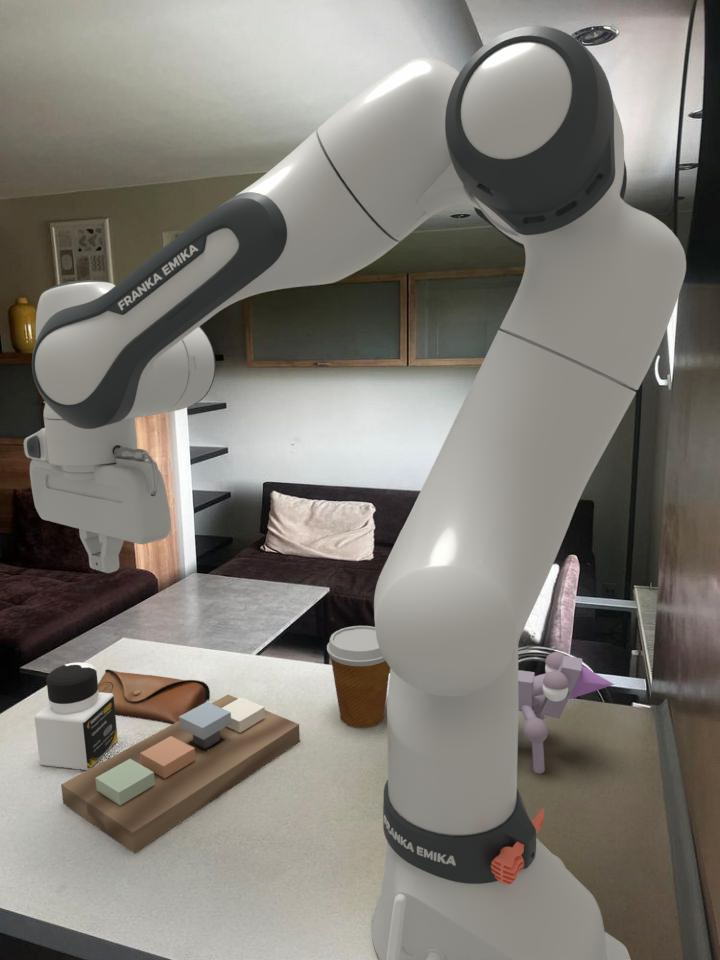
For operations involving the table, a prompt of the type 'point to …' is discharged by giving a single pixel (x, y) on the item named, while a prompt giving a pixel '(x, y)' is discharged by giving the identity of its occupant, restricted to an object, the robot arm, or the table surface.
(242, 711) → the key ivory
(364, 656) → the disposable coffee cup
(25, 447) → the robot arm
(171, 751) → the key terracotta
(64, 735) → the medicine bottle
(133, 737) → the table surface
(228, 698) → the wooden board
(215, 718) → the key slate
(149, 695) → the sunglasses case
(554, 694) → the purple toy figure
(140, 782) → the key sage
